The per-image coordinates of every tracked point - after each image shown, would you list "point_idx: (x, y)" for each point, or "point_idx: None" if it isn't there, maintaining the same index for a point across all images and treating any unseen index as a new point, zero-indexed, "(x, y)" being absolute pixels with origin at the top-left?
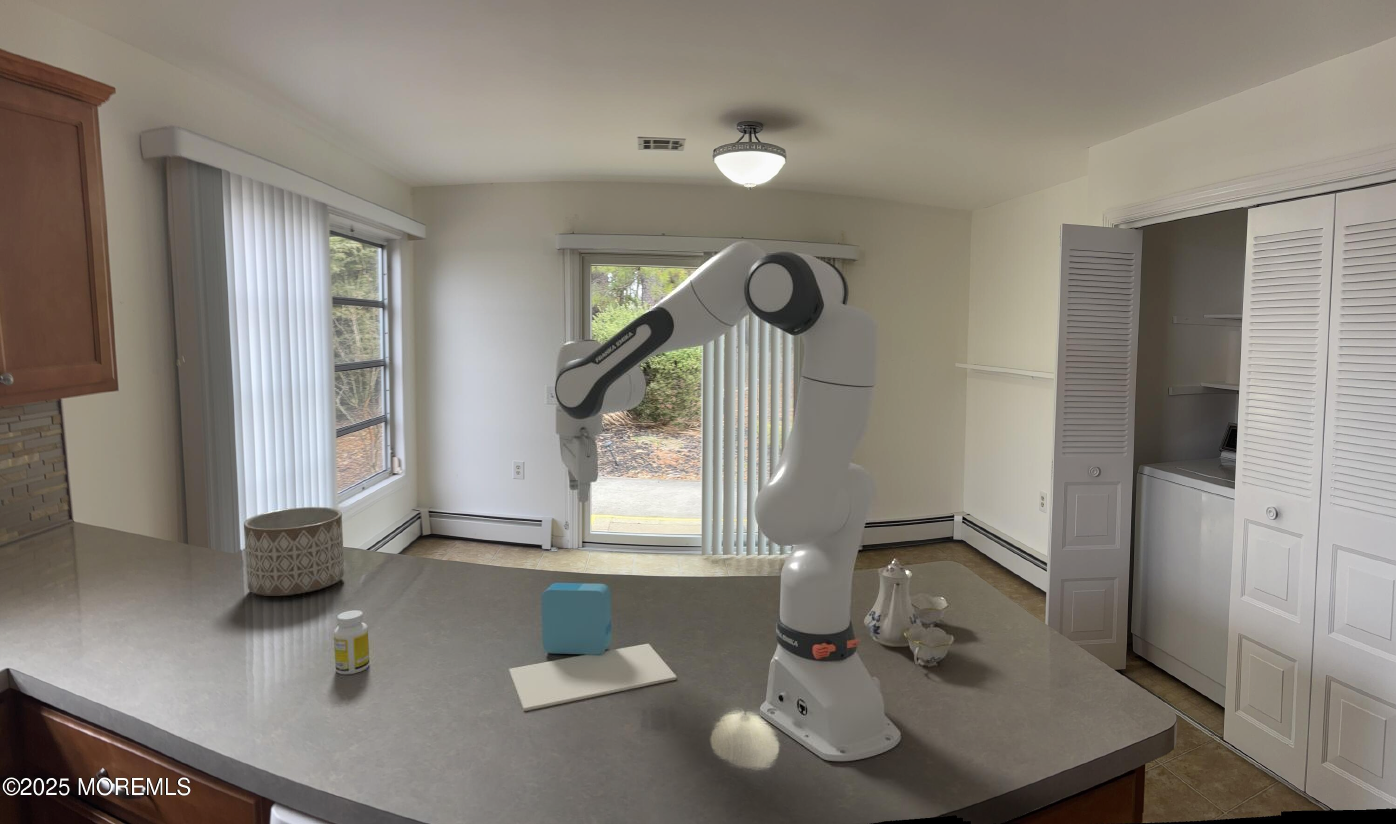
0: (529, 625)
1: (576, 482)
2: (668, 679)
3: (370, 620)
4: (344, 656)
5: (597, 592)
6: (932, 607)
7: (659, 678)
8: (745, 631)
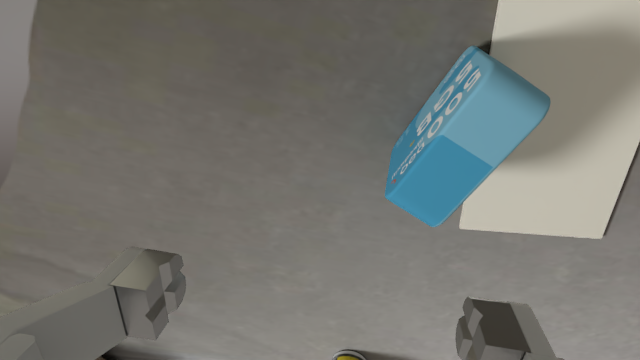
0: (297, 161)
1: (155, 301)
2: None
3: (214, 331)
4: None
5: (540, 121)
6: None
7: None
8: None
